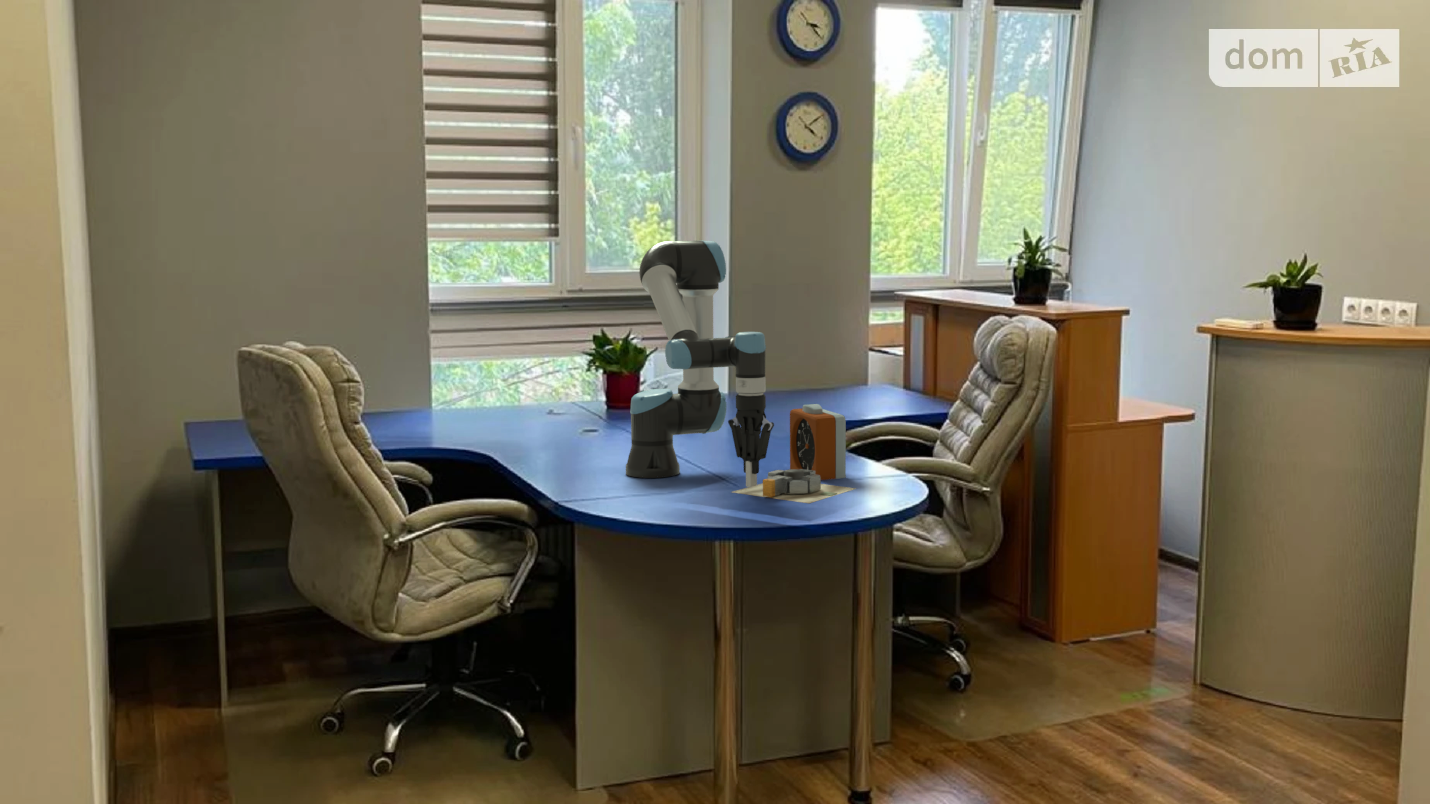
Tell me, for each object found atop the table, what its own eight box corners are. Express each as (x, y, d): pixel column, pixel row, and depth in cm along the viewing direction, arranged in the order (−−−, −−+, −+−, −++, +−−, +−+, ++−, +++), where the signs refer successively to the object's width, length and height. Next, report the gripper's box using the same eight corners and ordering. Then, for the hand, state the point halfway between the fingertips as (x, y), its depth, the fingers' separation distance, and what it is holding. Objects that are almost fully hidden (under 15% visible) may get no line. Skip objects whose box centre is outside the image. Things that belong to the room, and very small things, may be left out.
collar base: (730, 497, 343) (730, 472, 343) (780, 483, 361) (780, 460, 360) (809, 509, 329) (809, 483, 328) (856, 494, 346) (856, 469, 345)
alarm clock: (788, 474, 375) (788, 400, 372) (817, 471, 378) (817, 399, 375) (817, 486, 358) (816, 409, 355) (846, 483, 361) (846, 407, 358)
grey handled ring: (787, 481, 354) (787, 466, 353) (829, 487, 346) (829, 471, 345) (746, 493, 339) (746, 477, 339) (788, 499, 331) (788, 483, 331)
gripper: (720, 393, 339) (722, 485, 342) (762, 397, 331) (763, 491, 334) (738, 390, 345) (739, 480, 348) (780, 393, 337) (781, 486, 340)
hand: (751, 485), depth 341 cm, fingers closed
